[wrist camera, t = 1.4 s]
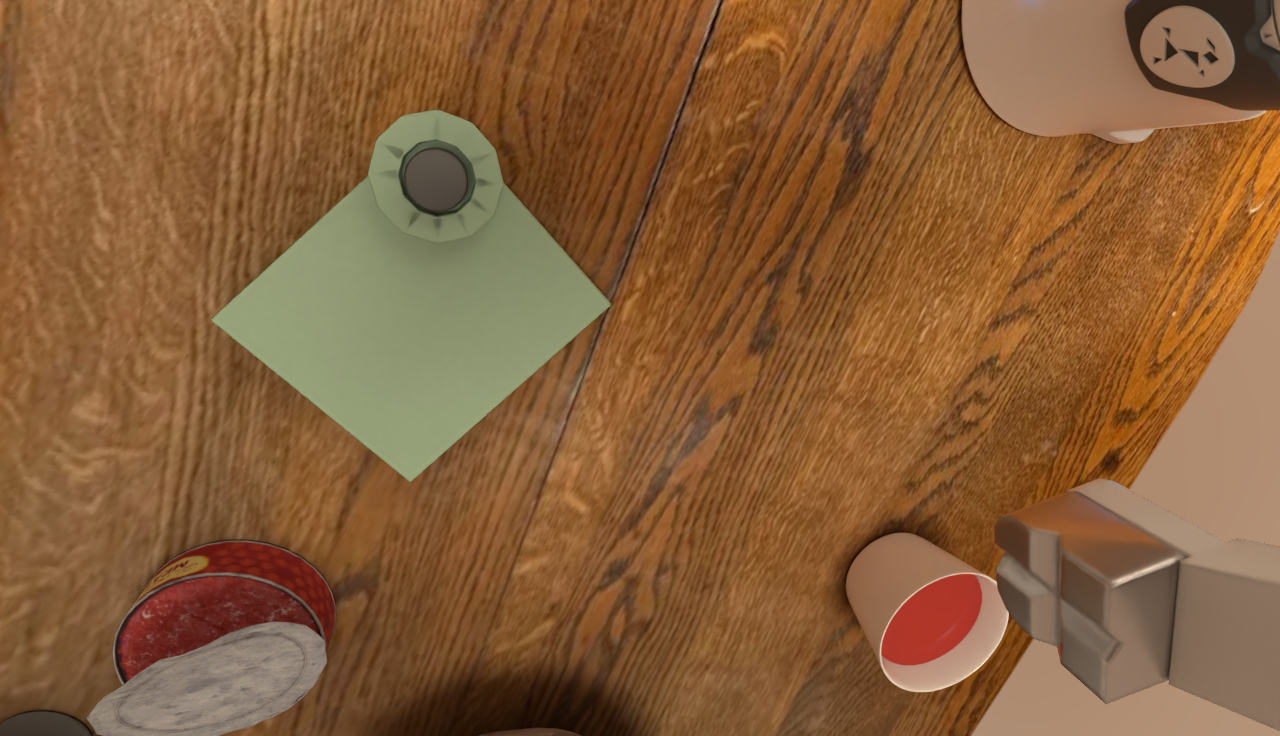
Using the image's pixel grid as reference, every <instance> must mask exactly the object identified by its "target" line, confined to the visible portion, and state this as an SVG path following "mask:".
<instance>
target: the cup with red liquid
mask: <svg viewBox="0 0 1280 736" xmlns="http://www.w3.org/2000/svg"><path fill="white" fill-rule="evenodd" d="M846 593H847V597H848V600H849V602H850V605H851V607H852V609H853V611H854V613H855V615H856V617H857V619H858V621H859V624H860V626H861V628H862V630H863V632H864V634H865V636H866V638H867V640H868V642H869V644H870V646H871V648H872V650H873V652H874V654H875V656H876V658H877V660H878V662H879V664H880V666H881V668H882V670H883V672H884V673H885V675H886V676H887V678H888V679H889V680H890V681H891V682H892V683H893V684H895V685H896V686H898V687H900V688H902V689H905V690H908V691H913V692H930V691H936V690H940V689H943V688H946V687H949V686H951V685H954V684H956V683H958V682H960V681H961V680H963V679H965V678H966V677H968V676H969V675H971V674H972V673H973V672H975V671H976V670H977V669H978V668H979V667H980V666H982V665H983V664H984V663H985V662H986V661H987V659H988V658H989V657H990V656H991V655H992V653H993V652H994V651H995V649H996V648H997V646H998V645H999V643H1000V641H1001V639H1002V637H1003V635H1004V632H1005V630H1006V626H1007V622H1008V616H1009V612H1008V611H1007V610H1006V607H1005V605H1004V603H1003V601H1002V599H1001V596H1000V594H999V592H998V589H997V582H996V581H995V580H993V579H992V578H990V577H989V576H987V575H985V574H984V573H982V572H980V571H979V570H977V569H975V568H973V567H972V566H970V565H968V564H967V563H965V562H963V561H962V560H960V559H958V558H957V557H955V556H953V555H951V554H950V553H948V552H946V551H945V550H943V549H941V548H940V547H938V546H936V545H934V544H933V543H931V542H929V541H927V540H926V539H924V538H922V537H920V536H917V535H915V534H911V533H893V534H889V535H886V536H883V537H881V538H879V539H877V540H875V541H873V542H872V543H870V544H869V545H868V546H867V547H865V548H864V549H863V550H862V551H861V552H860V553H859V554H858V556H857V557H856V558H855V560H854V561H853V563H852V565H851V567H850V569H849V571H848V574H847V579H846Z"/></svg>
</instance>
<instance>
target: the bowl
mask: <svg viewBox="0 0 1280 736" xmlns="http://www.w3.org/2000/svg"><path fill="white" fill-rule="evenodd" d="M479 736H581V735H579V734H576V733H573V732H570V731H565V730H561V729H555V728H526V729H516V730H507V731H498V732H491V733H487V734H482V735H479Z"/></svg>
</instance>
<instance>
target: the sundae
mask: <svg viewBox="0 0 1280 736" xmlns="http://www.w3.org/2000/svg"><path fill="white" fill-rule="evenodd" d="M0 736H92V735H91V733H90V732H89V731H88V729H87V728H86V727H85V726H84V725H83V724H82V723H81V722H79V721H77V720H75V719H74V718H72V717H69V716H67V715H64V714H60V713H55V712H47V711H39V712H29V713H23V714H20V715H17V716H14V717H11V718H9V719H7V720H5V721H3V722H2V723H1V724H0Z"/></svg>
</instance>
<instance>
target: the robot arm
mask: <svg viewBox="0 0 1280 736" xmlns="http://www.w3.org/2000/svg"><path fill="white" fill-rule="evenodd" d="M962 35H963V43H964V50H965V54H966V59H967V63H968V66H969V69H970V72H971V75H972V77H973V80H974V82H975V84H976V86H977V88H978V90H979V92H980V94H981V95H982V97H983V98H984V100H985V101H986V103H987V104H988V105H989V106H990V108H991V109H992V110H993V111H994V112H995V113H996V114H997V115H998V116H999V117H1000V118H1002V119H1003V120H1004V121H1005V122H1007V123H1008V124H1010V125H1011V126H1013V127H1015V128H1017V129H1019V130H1021V131H1024V132H1026V133H1029V134H1033V135H1038V136H1046V137H1057V136H1066V135H1073V134H1083V133H1086V134H1093V135H1095V136H1097V137H1099V138H1102V139H1104V140H1106V141H1109V142H1112V143H1116V144H1128V143H1137V142H1141V141H1143V140H1145V139H1146V138H1147V137H1148V136H1149V135H1150V134H1151V133H1152V132H1153V131H1154V130H1155V129H1162V128H1173V127H1184V126H1194V125H1204V124H1214V123H1224V122H1233V121H1243V120H1249V119H1253V118H1256V117H1258V116H1261V115H1262V114H1264V113H1266V112H1267V110H1280V0H962ZM995 543H996V544H997V545H998V546H999V547H1000V548H1001V549H1003V550H1004V551H1005V554H1004V555H1003V557H1002V559H1001V561H1000V563H999V565H998V566H997V568H996V578H997V589H998V592H999V594H1000V596H1001V599H1002V601H1003V603H1004V605H1005V607H1006V610H1007V611H1008V612H1009V614H1010V615H1011V616H1012V618H1013V619H1014V620H1015V622H1016V623H1017V624H1018V625H1019V626H1020V627H1021V628H1022V629H1023V630H1024V631H1025V632H1026V633H1027V634H1029V635H1030V636H1031V637H1032V638H1033V639H1036V640H1039V641H1042V642H1045V643H1048V644H1051V645H1054V646H1057V648H1058V653H1059V657H1060V662H1061V664H1062V665H1063V666H1064V667H1065V668H1066V669H1067V670H1068V671H1070V672H1071V673H1072V674H1073V675H1074V676H1075V677H1076V678H1077V679H1079V680H1080V681H1081V682H1082V683H1083V684H1084V685H1085V686H1087V687H1088V688H1089V689H1090V690H1091V691H1092V692H1093V693H1094V694H1095V695H1097V696H1098V697H1099V698H1100V699H1101V700H1102V701H1103V702H1104V703H1106V704H1107V703H1110V702H1113V701H1115V700H1118V699H1120V698H1123V697H1126V696H1128V695H1131V694H1133V693H1136V692H1139V691H1141V690H1144V689H1146V688H1149V687H1152V686H1154V685H1157V684H1159V683H1162V682H1165V681H1167V680H1169V684H1170V685H1172V686H1174V687H1177V688H1179V689H1181V690H1184V691H1186V692H1188V693H1191V694H1193V695H1196V696H1198V697H1200V698H1203V699H1205V700H1207V701H1210V702H1212V703H1214V704H1217V705H1219V706H1221V707H1224V708H1226V709H1229V710H1231V711H1233V712H1236V713H1238V714H1241V715H1243V716H1245V717H1248V718H1250V719H1253V720H1255V721H1257V722H1259V723H1262V724H1264V725H1267V726H1269V727H1271V728H1274V729H1276V730H1278V731H1280V546H1274V545H1270V544H1265V543H1259V542H1254V541H1249V540H1244V539H1239V538H1237V539H1235V540H1232V541H1229V542H1225V541H1224V540H1222V539H1220V538H1218V537H1216V536H1214V535H1213V534H1211V533H1209V532H1207V531H1205V530H1203V529H1202V528H1200V527H1198V526H1196V525H1194V524H1192V523H1190V522H1188V521H1187V520H1185V519H1183V518H1181V517H1179V516H1177V515H1175V514H1174V513H1172V512H1170V511H1168V510H1166V509H1164V508H1163V507H1161V506H1159V505H1157V504H1155V503H1153V502H1151V501H1150V500H1148V499H1146V498H1144V497H1142V496H1140V495H1138V494H1137V493H1135V492H1133V491H1131V490H1129V489H1127V488H1125V487H1124V486H1122V485H1120V484H1118V483H1116V482H1114V481H1111V480H1106V479H1100V478H1099V479H1096V480H1093V481H1091V482H1088V483H1086V484H1083V485H1081V486H1078V487H1075V488H1073V489H1070V490H1068V491H1066V492H1065V493H1061V494H1058V495H1055V496H1053V497H1050V498H1047V499H1045V500H1042V501H1040V502H1037V503H1034V504H1032V505H1029V506H1026V507H1024V508H1021V509H1019V510H1016V511H1013V512H1011V513H1008V514H1006V515H1003V516H1000V517H999V519H998V521H997V523H996V525H995Z"/></svg>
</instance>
